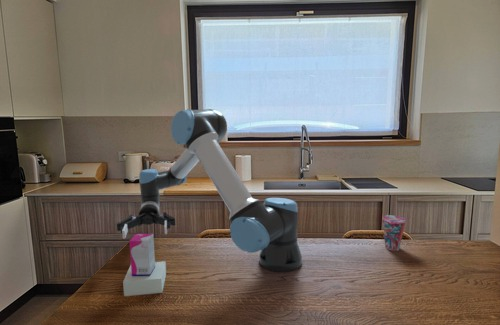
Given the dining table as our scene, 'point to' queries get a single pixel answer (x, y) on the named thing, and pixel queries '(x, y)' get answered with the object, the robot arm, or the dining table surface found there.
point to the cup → (393, 231)
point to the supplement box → (142, 254)
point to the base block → (145, 281)
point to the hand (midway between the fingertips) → (144, 232)
